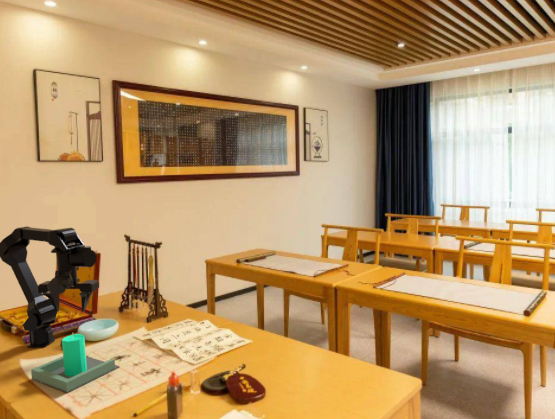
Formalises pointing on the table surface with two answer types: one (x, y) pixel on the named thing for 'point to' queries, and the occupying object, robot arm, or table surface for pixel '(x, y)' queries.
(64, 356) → the candle
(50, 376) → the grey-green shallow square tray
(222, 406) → the table surface
